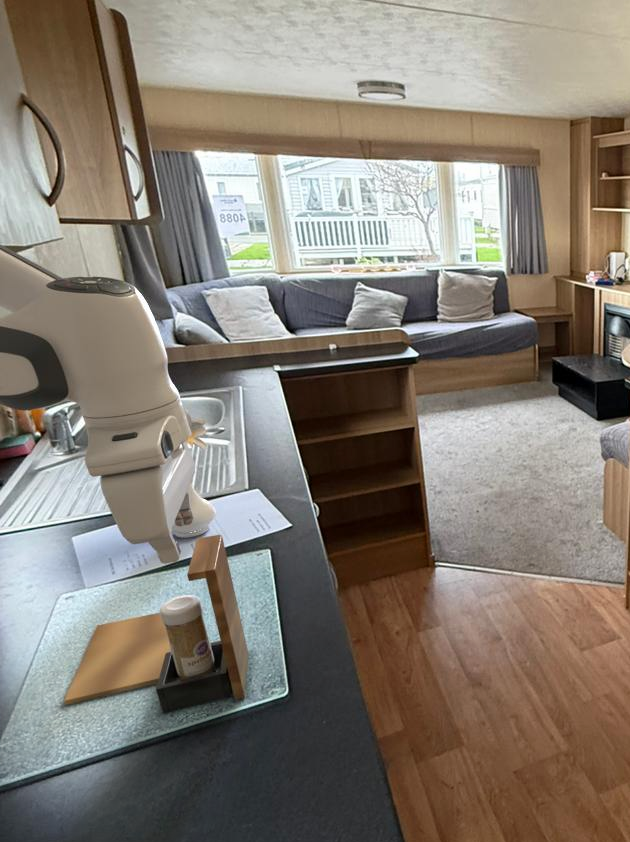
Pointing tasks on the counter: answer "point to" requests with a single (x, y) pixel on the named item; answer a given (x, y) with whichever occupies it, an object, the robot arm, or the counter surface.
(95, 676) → the cork mat
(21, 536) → the counter surface
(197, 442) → the flower vase
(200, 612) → the sprinkles bottle
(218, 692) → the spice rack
